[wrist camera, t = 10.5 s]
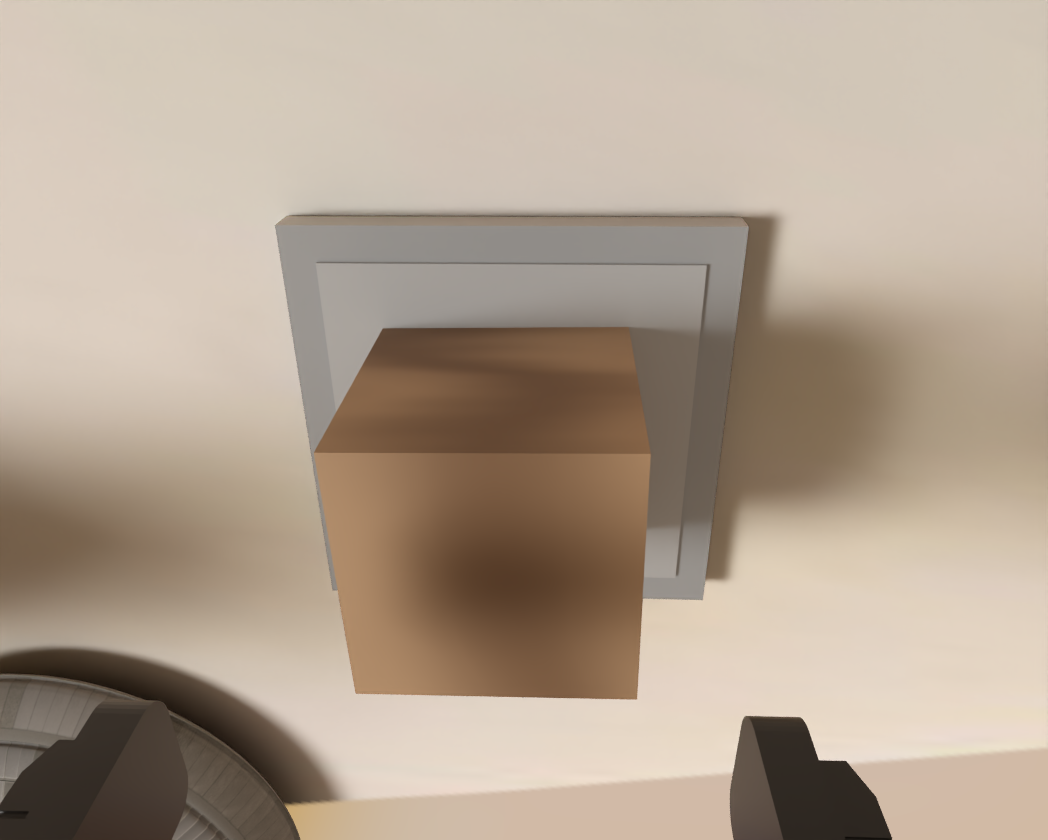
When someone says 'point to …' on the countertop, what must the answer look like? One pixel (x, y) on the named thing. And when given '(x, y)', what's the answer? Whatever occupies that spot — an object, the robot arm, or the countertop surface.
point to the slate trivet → (541, 301)
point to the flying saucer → (213, 767)
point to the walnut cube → (491, 513)
